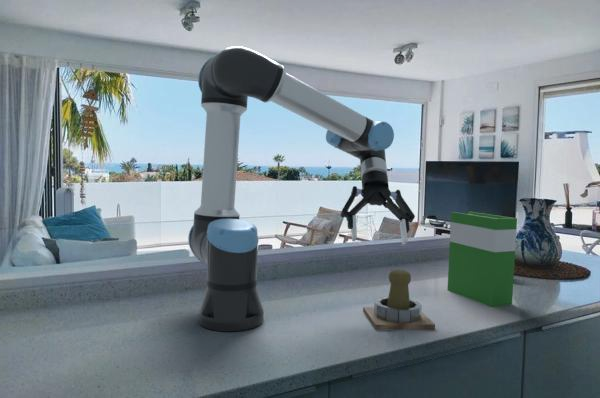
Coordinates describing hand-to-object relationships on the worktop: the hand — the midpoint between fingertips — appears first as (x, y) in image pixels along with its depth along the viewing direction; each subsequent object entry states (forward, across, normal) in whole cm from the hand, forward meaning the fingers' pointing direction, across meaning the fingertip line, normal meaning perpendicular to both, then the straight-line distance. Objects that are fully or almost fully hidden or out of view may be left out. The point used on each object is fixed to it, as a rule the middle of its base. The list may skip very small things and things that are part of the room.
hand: (379, 240), depth 122 cm
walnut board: (+21, -3, -2) cm, 21 cm away
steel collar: (+20, -3, -1) cm, 20 cm away
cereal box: (+7, -33, -17) cm, 38 cm away
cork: (+20, -3, -1) cm, 20 cm away
